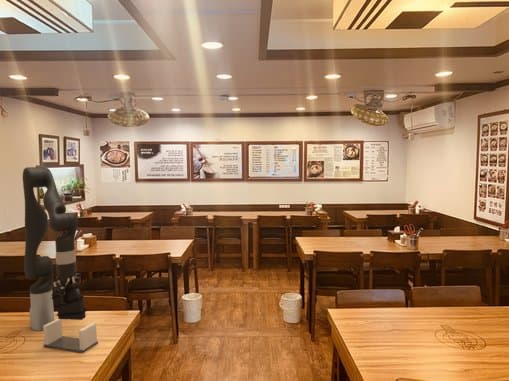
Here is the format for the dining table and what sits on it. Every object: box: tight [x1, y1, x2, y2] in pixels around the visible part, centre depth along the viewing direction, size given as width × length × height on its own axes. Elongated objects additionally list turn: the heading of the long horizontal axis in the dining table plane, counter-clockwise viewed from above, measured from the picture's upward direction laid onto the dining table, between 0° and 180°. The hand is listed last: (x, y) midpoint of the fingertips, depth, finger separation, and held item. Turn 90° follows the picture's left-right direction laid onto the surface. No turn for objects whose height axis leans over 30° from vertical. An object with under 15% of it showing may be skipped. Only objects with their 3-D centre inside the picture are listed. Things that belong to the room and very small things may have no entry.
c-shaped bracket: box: [42, 318, 98, 350], centre depth 164 cm, size 20×8×8 cm, turn 73°
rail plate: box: [42, 335, 99, 354], centre depth 164 cm, size 20×9×1 cm, turn 73°
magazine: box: [51, 282, 87, 321], centre depth 163 cm, size 4×13×15 cm, turn 82°
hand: (68, 301), depth 163 cm, fingers closed on magazine, 4 cm apart
